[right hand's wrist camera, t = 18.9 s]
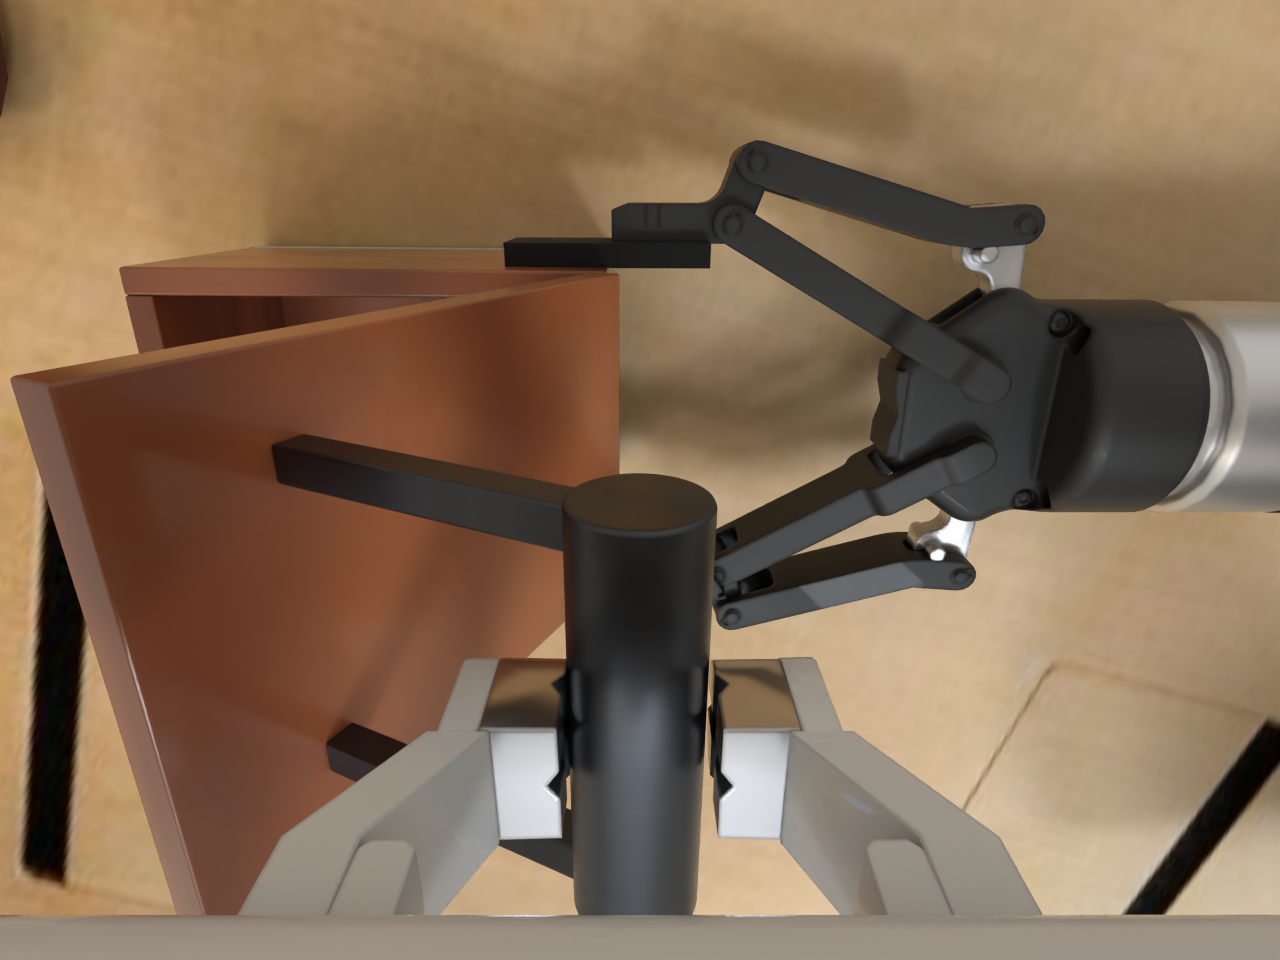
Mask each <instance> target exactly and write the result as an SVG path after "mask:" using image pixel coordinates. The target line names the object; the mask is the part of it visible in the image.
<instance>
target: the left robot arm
mask: <svg viewBox="0 0 1280 960" xmlns="http://www.w3.org/2000/svg"><path fill="white" fill-rule="evenodd" d="M764 191H767V192H770V193H773V194H777V195H780V196H783V197H786V198H789V199H793V200H796V201H799V202H802V203H805V204H808V205H812V206H815V207H818V208H821V209H824V210H827V211H831V212H834V213H837V214H840V215H843V216H847V217H850V218H853V219H856V220H859V221H862V222H866V223H869V224H872V225H875V226H878V227H881V228H885V229H888V230H891V231H894V232H897V233H901V234H904V235H907V236H910V237H913V238H917V239H921V240H925V241H929V242H935V243H940V244H946V245H951V258H952V261H953V262H954V263H955V265H957V266H958V267H960V268H964V269H968V270H971V271H973V272H974V273H975V274H976V275H977V277H978V280H979V288H976V289H975V290H973V291H971V292H970V293H968V294H967V295H965V296H964V297H962V298H961V299H959V300H958V301H956V302H955V303H953V304H952V305H950V306H949V307H947V308H946V309H944V310H943V311H941V312H940V313H938V314H937V315H935V316H934V317H932V318H930V319H929V320H927V321H925V320H924V319H922V318H920V317H919V316H917V315H915V314H914V313H912V312H910V311H908V310H907V309H905V308H903V307H902V306H900V305H898V304H897V303H895V302H894V301H892V300H890V299H889V298H887V297H886V296H884V295H882V294H881V293H879V292H878V291H876V290H874V289H873V288H871V287H870V286H868V285H866V284H865V283H863V282H862V281H860V280H859V279H857V278H855V277H854V276H852V275H851V274H849V273H847V272H846V271H844V270H843V269H841V268H839V267H838V266H836V265H835V264H833V263H831V262H830V261H828V260H827V259H825V258H823V257H822V256H820V255H819V254H817V253H816V252H814V251H812V250H811V249H809V248H808V247H806V246H804V245H803V244H801V243H800V242H798V241H796V240H795V239H793V238H792V237H790V236H788V235H787V234H785V233H784V232H782V231H781V230H779V229H777V228H776V227H774V226H773V225H771V224H769V223H768V222H766V221H765V220H763V219H761V218H760V217H758V216H757V215H755V213H756V210H757V208H758V205H759V203H760V200H761V198H762V195H763V193H764ZM1044 225H1045V216H1044V214H1043V212H1042V210H1041V209H1040V208H1038V207H1037V206H1035V205H1028V204H1002V203H989V204H975V205H961V204H958V203H955V202H952V201H949V200H945V199H942V198H939V197H936V196H933V195H930V194H927V193H924V192H921V191H918V190H914V189H911V188H908V187H905V186H902V185H899V184H896V183H893V182H890V181H886V180H883V179H880V178H877V177H874V176H871V175H868V174H865V173H862V172H859V171H855V170H852V169H849V168H846V167H843V166H840V165H837V164H834V163H831V162H827V161H824V160H821V159H818V158H815V157H812V156H809V155H806V154H803V153H800V152H796V151H793V150H790V149H787V148H784V147H781V146H778V145H775V144H772V143H768V142H765V141H758V140H756V141H753V142H750V143H747V144H745V145H743V146H741V147H739V148H738V149H736V150H735V151H734V152H733V154H732V156H731V158H730V161H729V166H728V169H727V171H726V174H725V177H724V179H723V182H722V185H721V187H720V189H719V191H718V192H717V193H716V195H715V196H714V197H712V198H711V199H710V200H708V201H705V202H701V203H626V204H624V205H621V206H619V207H617V208H614V209H612V238H515V239H512V240H510V241H507V242H504V243H503V245H504V260H505V267H582V268H710V255H711V244H726V245H728V246H729V247H731V248H733V249H734V250H736V251H737V252H739V253H741V254H742V255H744V256H746V257H747V258H749V259H750V260H752V261H754V262H755V263H757V264H759V265H760V266H762V267H763V268H765V269H767V270H768V271H770V272H772V273H773V274H775V275H776V276H778V277H780V278H781V279H783V280H785V281H786V282H788V283H789V284H791V285H793V286H794V287H796V288H798V289H799V290H801V291H803V292H804V293H806V294H807V295H809V296H811V297H812V298H814V299H816V300H817V301H819V302H820V303H822V304H824V305H825V306H827V307H829V308H830V309H832V310H833V311H835V312H837V313H838V314H840V315H842V316H843V317H845V318H846V319H848V320H850V321H851V322H853V323H855V324H856V325H858V326H860V327H861V328H863V329H864V330H866V331H868V332H869V333H871V334H873V335H874V336H876V337H877V338H879V339H881V340H882V341H884V342H886V343H887V344H889V345H890V346H892V348H891V349H890V351H889V352H888V354H887V356H886V358H880V362H879V371H878V386H879V392H880V402H879V405H878V407H877V410H876V412H875V415H874V417H873V420H872V427H871V435H870V440H871V441H872V442H873V443H874V444H873V445H871V446H869V447H867V448H865V449H863V450H861V451H859V452H857V453H855V454H853V455H852V456H850V457H849V458H848V460H847V461H846V463H845V464H844V465H843V466H841V467H839V468H837V469H835V470H833V471H831V472H829V473H827V474H825V475H823V476H821V477H819V478H817V479H815V480H813V481H811V482H809V483H807V484H805V485H803V486H801V487H799V488H797V489H795V490H793V491H791V492H789V493H787V494H785V495H783V496H781V497H779V498H777V499H775V500H773V501H771V502H769V503H767V504H765V505H763V506H761V507H759V508H758V509H756V510H754V511H752V512H750V513H748V514H746V515H744V516H742V517H740V518H738V519H736V520H734V521H732V522H730V523H728V524H726V525H724V526H722V527H720V528H718V529H716V541H715V560H714V579H713V598H712V606H713V608H714V611H715V614H716V619H717V622H718V624H719V625H720V626H721V627H723V628H724V629H728V630H736V629H740V628H744V627H748V626H752V625H757V624H761V623H765V622H769V621H773V620H778V619H782V618H786V617H790V616H794V615H799V614H803V613H807V612H811V611H816V610H820V609H824V608H828V607H832V606H837V605H841V604H845V603H849V602H853V601H858V600H862V599H866V598H870V597H874V596H879V595H883V594H887V593H891V592H895V591H900V590H904V589H908V588H912V587H913V588H928V589H944V590H963V589H965V588H967V587H969V586H970V585H971V584H972V583H973V582H974V580H975V578H976V571H975V569H974V567H973V566H972V565H971V563H970V562H969V561H968V560H967V559H966V557H967V553H968V549H969V545H970V541H971V538H972V534H973V530H974V526H975V523H976V521H980V520H983V519H985V518H987V517H989V516H991V515H994V514H996V513H999V512H1002V511H1006V510H1012V509H1018V510H1028V511H1039V512H1136V511H1142V510H1144V509H1146V510H1149V511H1153V512H1156V513H1190V512H1267V513H1280V302H1273V301H1190V300H1172V301H1168V302H1165V303H1158V302H1155V301H1150V300H1041V299H1036V298H1034V297H1032V296H1031V295H1029V294H1028V293H1026V292H1025V291H1023V290H1021V289H1020V288H1021V280H1022V271H1023V263H1024V255H1025V246H1026V244H1029V243H1032V242H1033V241H1034V240H1036V239H1037V238H1038V237H1039V236H1040V234H1041V233H1042V232H1043V228H1044ZM890 473H892V474H890ZM888 474H889V475H888ZM926 498H927V499H928V500H929V501H931V502H932V503H933V504H935V505H936V506H937V507H939V508H940V509H941V510H940V513H939V514H938V515H937V517H935V518H934V519H933V520H930V521H927V522H922V523H920V522H914V523H912V524H911V525H910V526H909V532H892V533H884V534H879V535H874V536H870V537H866V538H862V539H858V540H854V541H850V542H846V543H842V544H838V545H834V546H830V547H825V548H821V549H817V550H813V551H809V552H805V553H801V554H797V555H793V554H795V553H798V552H800V551H802V550H804V549H806V548H808V547H810V546H812V545H814V544H816V543H818V542H820V541H822V540H824V539H826V538H829V537H831V536H833V535H835V534H837V533H839V532H841V531H843V530H845V529H847V528H849V527H851V526H853V525H855V524H857V523H860V522H862V521H864V520H866V519H868V518H870V517H872V516H876V515H880V516H888V515H892V514H894V513H896V512H899V511H901V510H903V509H905V508H907V507H909V506H911V505H913V504H915V503H917V502H919V501H921V500H923V499H926ZM791 555H793V556H791Z"/></svg>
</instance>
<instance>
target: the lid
mask: <svg viewBox="0 0 1280 960" xmlns="http://www.w3.org/2000/svg"><path fill="white" fill-rule="evenodd" d="M11 384H12V387H13V390H14V394H15V397H16V400H17V403H18V406H19V410H20V413H21V416H22V419H23V422H24V426H25V429H26V432H27V435H28V438H29V442H30V445H31V448H32V451H33V454H34V458H35V461H36V464H37V467H38V470H39V474H40V477H41V480H42V483H43V486H44V490H45V493H46V496H47V499H48V502H49V506H50V509H51V512H52V515H53V518H54V522H55V525H56V528H57V531H58V534H59V538H60V541H61V544H62V547H63V550H64V554H65V557H66V560H67V563H68V567H69V570H70V573H71V576H72V579H73V583H74V586H75V589H76V592H77V595H78V599H79V602H80V605H81V608H82V611H83V615H84V618H85V621H86V624H87V627H88V631H89V634H90V637H91V640H92V643H93V647H94V650H95V653H96V656H97V659H98V663H99V666H100V669H101V672H102V675H103V679H104V682H105V685H106V688H107V691H108V695H109V698H110V701H111V704H112V707H113V711H114V714H115V717H116V720H117V723H118V727H119V730H120V733H121V736H122V739H123V743H124V746H125V749H126V752H127V755H128V759H129V762H130V765H131V768H132V771H133V775H134V778H135V781H136V784H137V787H138V791H139V794H140V797H141V800H142V804H143V807H144V810H145V813H146V816H147V820H148V823H149V826H150V829H151V832H152V836H153V839H154V842H155V845H156V848H157V852H158V855H159V858H160V861H161V864H162V868H163V871H164V874H165V877H166V880H167V884H168V887H169V890H170V893H171V896H172V900H173V903H174V906H175V909H176V912H177V915H237V914H238V913H239V911H240V909H241V907H242V905H243V904H244V902H245V900H246V898H247V896H248V895H249V893H250V891H251V889H252V888H253V886H254V884H255V882H256V880H257V879H258V877H259V875H260V873H261V871H262V870H263V868H264V866H265V864H266V863H267V861H268V859H269V857H270V855H271V854H272V852H273V850H274V848H275V846H276V845H277V843H278V841H279V839H280V838H281V836H282V835H283V834H285V833H286V832H288V831H289V830H290V829H292V828H293V827H295V826H296V825H297V824H299V823H300V822H302V821H303V820H304V819H306V818H307V817H308V816H310V815H311V814H313V813H314V812H315V811H317V810H318V809H320V808H321V807H322V806H324V805H325V804H326V803H328V802H329V801H331V800H332V799H333V798H335V797H336V796H338V795H339V794H340V793H342V792H343V791H345V790H346V789H347V788H349V787H350V786H351V785H353V784H354V783H356V782H357V781H358V780H360V779H361V778H363V777H364V776H365V775H367V774H368V773H369V772H371V771H372V770H374V769H375V768H376V767H378V766H379V765H381V764H382V763H383V762H385V761H386V760H388V759H389V758H390V757H392V756H393V755H394V754H396V753H397V752H399V751H400V750H401V749H403V748H404V747H406V746H407V745H408V744H410V743H411V742H413V741H414V740H415V739H417V738H418V737H419V736H421V735H422V734H424V733H425V732H426V731H437V730H438V727H439V724H440V722H441V719H442V716H443V714H444V711H445V708H446V706H447V703H448V700H449V698H450V695H451V692H452V690H453V687H454V685H455V682H456V679H457V677H458V674H459V671H460V669H461V666H462V663H463V662H464V661H465V660H466V659H467V658H501V659H502V658H527V657H528V656H529V655H530V654H531V653H532V652H533V651H534V650H535V649H536V648H537V647H538V646H539V645H541V644H542V643H543V642H544V641H545V640H546V639H547V638H548V637H549V636H550V635H551V634H552V633H553V632H554V631H555V630H557V629H558V628H559V627H560V626H561V625H562V624H563V623H564V622H565V631H566V661H567V682H568V722H569V731H570V761H571V768H570V785H571V810H570V809H567V808H566V810H565V818H564V826H563V834H562V838H541V839H507V840H499V846H501V847H503V848H505V849H508V850H510V851H512V852H514V853H517V854H519V855H521V856H523V857H526V858H528V859H530V860H532V861H535V862H537V863H539V864H541V865H544V866H546V867H548V868H550V869H552V870H555V871H557V872H559V873H561V874H564V875H566V876H568V877H570V878H573V879H574V900H575V905H576V909H577V911H578V914H579V915H692V914H693V912H694V909H695V905H696V901H697V883H698V864H699V845H700V826H701V807H702V788H703V769H704V750H705V731H706V712H707V693H708V674H709V655H710V636H711V617H712V598H713V579H714V560H715V541H716V522H717V504H716V502H715V499H714V497H713V496H712V495H711V493H710V492H709V491H707V490H706V489H705V488H703V487H701V486H699V485H697V484H695V483H693V482H690V481H687V480H684V479H680V478H676V477H671V476H665V475H657V474H644V473H633V474H619V274H614V273H597V272H593V273H587V274H582V275H576V276H571V277H565V278H559V279H554V280H548V281H543V282H537V283H531V284H526V285H520V286H515V287H509V288H503V289H498V290H492V291H487V292H481V293H475V294H470V295H464V296H459V297H453V298H447V299H442V300H436V301H431V302H425V303H419V304H414V305H408V306H403V307H397V308H391V309H386V310H380V311H375V312H369V313H363V314H358V315H352V316H347V317H341V318H336V319H330V320H324V321H319V322H313V323H308V324H302V325H296V326H291V327H285V328H280V329H274V330H268V331H263V332H257V333H252V334H246V335H240V336H235V337H229V338H224V339H218V340H212V341H207V342H201V343H196V344H190V345H184V346H179V347H173V348H168V349H162V350H156V351H151V352H145V353H140V354H134V355H128V356H123V357H117V358H112V359H106V360H101V361H95V362H89V363H84V364H78V365H73V366H67V367H61V368H56V369H50V370H45V371H39V372H33V373H28V374H22V375H17V376H14V377H12V378H11Z"/></svg>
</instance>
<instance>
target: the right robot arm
mask: <svg viewBox="0 0 1280 960" xmlns="http://www.w3.org/2000/svg"><path fill="white" fill-rule="evenodd" d="M709 688H710V696H711V705H710V706H709V708H708V724H707V736H708V758H709V768H710V775H711V776H712V777H713V778H714V790H713V802H714V810H715V817H716V825H717V833H718V838H737V839H773V840H781V842H780V843H781V844H782V845H783V846H784V848H785V849H786V850H787V851H788V852H789V854H790V855H791V856H792V857H793V858H794V860H795V861H796V862H797V863H798V864H799V866H800V867H801V868H802V869H803V870H804V872H805V873H806V874H807V875H808V876H809V877H810V879H811V880H812V881H813V882H814V883H815V885H816V886H817V887H818V888H819V889H820V891H821V892H822V893H823V894H824V895H825V897H826V898H827V899H828V900H829V901H830V903H831V904H832V905H833V906H834V907H835V909H836V910H837V911H838V912H839V913H840V915H440V914H441V912H442V911H443V910H444V909H445V908H446V907H447V905H448V904H449V903H450V902H451V901H452V899H453V898H454V897H455V896H456V895H457V893H458V892H459V891H460V890H461V889H462V888H463V886H464V885H465V884H466V883H467V882H468V880H469V879H470V878H471V877H472V876H473V874H474V873H475V872H476V871H477V870H478V868H479V867H480V866H481V865H482V864H483V863H484V861H485V860H486V859H487V858H488V857H489V855H490V854H491V853H492V852H493V851H494V849H495V848H496V847H497V846H498V845H499V840H507V839H541V838H562V834H563V826H564V818H565V810H566V802H567V790H566V778H567V777H568V776H569V775H570V768H571V761H570V731H569V722H568V682H567V661H566V659H544V658H502V659H501V658H467V659H466V660H465V661H464V662H463V663H462V666H461V669H460V671H459V674H458V677H457V679H456V682H455V685H454V687H453V690H452V692H451V695H450V698H449V700H448V703H447V706H446V708H445V711H444V714H443V716H442V719H441V722H440V724H439V727H438V730H437V731H426V732H425V733H424V734H422V735H421V736H419V737H418V738H417V739H415V740H414V741H413V742H411V743H410V744H408V745H407V746H406V747H404V748H403V749H401V750H400V751H399V752H397V753H396V754H394V755H393V756H392V757H390V758H389V759H388V760H386V761H385V762H383V763H382V764H381V765H379V766H378V767H376V768H375V769H374V770H372V771H371V772H369V773H368V774H367V775H365V776H364V777H363V778H361V779H360V780H358V781H357V782H356V783H354V784H353V785H351V786H350V787H349V788H347V789H346V790H345V791H343V792H342V793H340V794H339V795H338V796H336V797H335V798H333V799H332V800H331V801H329V802H328V803H326V804H325V805H324V806H322V807H321V808H320V809H318V810H317V811H315V812H314V813H313V814H311V815H310V816H308V817H307V818H306V819H304V820H303V821H302V822H300V823H299V824H297V825H296V826H295V827H293V828H292V829H290V830H289V831H288V832H286V833H285V834H283V835H282V836H281V838H280V839H279V841H278V843H277V845H276V846H275V848H274V850H273V852H272V854H271V855H270V857H269V859H268V861H267V863H266V864H265V866H264V868H263V870H262V871H261V873H260V875H259V877H258V879H257V880H256V882H255V884H254V886H253V888H252V889H251V891H250V893H249V895H248V896H247V898H246V900H245V902H244V904H243V905H242V907H241V909H240V911H239V913H238V914H237V915H0V960H1280V915H1043V914H1042V913H1041V911H1040V909H1039V907H1038V905H1037V904H1036V902H1035V900H1034V898H1033V896H1032V895H1031V893H1030V891H1029V889H1028V887H1027V886H1026V884H1025V882H1024V880H1023V878H1022V876H1021V875H1020V873H1019V871H1018V869H1017V867H1016V866H1015V864H1014V862H1013V860H1012V858H1011V857H1010V855H1009V853H1008V851H1007V849H1006V848H1005V846H1004V844H1003V842H1002V840H1001V839H1000V837H999V836H997V835H996V834H995V833H993V832H992V831H990V830H989V829H988V828H986V827H985V826H984V825H982V824H981V823H979V822H978V821H977V820H975V819H974V818H972V817H971V816H970V815H968V814H967V813H966V812H964V811H963V810H961V809H960V808H959V807H957V806H956V805H955V804H953V803H952V802H950V801H949V800H948V799H946V798H945V797H943V796H942V795H941V794H939V793H938V792H937V791H935V790H934V789H932V788H931V787H930V786H928V785H927V784H926V783H924V782H923V781H921V780H920V779H919V778H917V777H916V776H914V775H913V774H912V773H910V772H909V771H908V770H906V769H905V768H903V767H902V766H901V765H899V764H898V763H897V762H895V761H894V760H892V759H891V758H890V757H888V756H887V755H885V754H884V753H883V752H881V751H880V750H879V749H877V748H876V747H874V746H873V745H872V744H870V743H869V742H867V741H866V740H865V739H863V738H862V737H861V736H859V735H858V734H856V733H855V732H854V731H843V730H842V727H841V724H840V722H839V719H838V716H837V714H836V711H835V709H834V706H833V703H832V701H831V698H830V696H829V693H828V690H827V688H826V685H825V682H824V680H823V677H822V675H821V672H820V669H819V667H818V664H817V662H816V660H815V659H814V658H812V657H798V658H778V659H737V660H711V662H710V672H709Z"/></svg>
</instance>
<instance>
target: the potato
mask: <svg viewBox="0 0 1280 960" xmlns="http://www.w3.org/2000/svg"><path fill="white" fill-rule="evenodd" d="M7 80H8V77H7V71H6V65H5V59H4V52H3V46H2V40H1V36H0V116H1V113H2V108H3V102H4V97H5V91H6V86H7Z"/></svg>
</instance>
